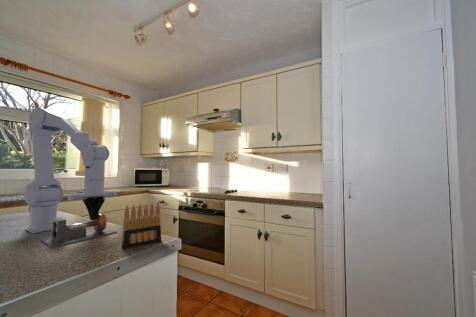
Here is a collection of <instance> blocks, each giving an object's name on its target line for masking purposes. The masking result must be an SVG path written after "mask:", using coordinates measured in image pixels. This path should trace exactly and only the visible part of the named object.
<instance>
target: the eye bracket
mask: <svg viewBox="0 0 476 317" xmlns="http://www.w3.org/2000/svg"><path fill="white" fill-rule="evenodd" d="M66 225H67V219H66V218H62V217H57V218H54V219H53V221H52V230H51V237H47V238H41V239H40V242H41V243H43V244H45V245H47V247H49V248H51V249H54V248H58V247H63V246H66V245H71V244H74V243H78V242H79V243H80V242H83V241H87V240H88V241H89V240H92V239H97V238H100V237H101V238H102V237H105V236H109V235H115V234H117V233H118V231H116V230H114V229H110V228H107V227H106V228H105V230H104V231H99V232H96V231H95V230H94V228H93V229H87V228H82V229H76V230H71V231H66ZM56 228H57V232H56Z"/></svg>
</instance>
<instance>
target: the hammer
mask: <svg viewBox="0 0 476 317" xmlns="http://www.w3.org/2000/svg"><path fill="white" fill-rule="evenodd" d="M91 227H93V229H94V230H95V231H96V232H99V231H104V230H105V228H107V217H106V215H105V214H104V213H103V212H102V213H98V216H97V220H90V221H85V222H80V223H79V222H78V223H73V224H68V225H67V224H66V231H71V230H76V229H82V228H86V229H87V228H91ZM56 232H57V228H56Z"/></svg>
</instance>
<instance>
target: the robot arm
mask: <svg viewBox="0 0 476 317" xmlns="http://www.w3.org/2000/svg"><path fill="white" fill-rule="evenodd" d="M28 117H29V118H28V119H29V130H30V132H31V139H32V153H33V168H34V169H33V170H34V179H33V180H32V181H30V182H29V183H27V184H26V185H25V193H24V197H23V198H24V202H25V203H26V204H27V205H28V207H30V210H29V215H28V227H25V228H24V229H25V230H26V231H28V232H29V233H31V234H36V233H42V232H47V231H52V221H53V219H54V218H58V215H57V214H58V205H59V204H60V202H61V201H62V200H63V198H64V189H63V188H62V183H61V181H59V180H58V179H56V178H55V176H54V162H53V149H52V148H53V147H52V136H54V135H58V134H59V133H60V132H61V131H62V132H64V133H65V134H66V135H67V136H69V137H70V143H71V144H72V145H73V146H74V147H76V149H77V150H79V152H80V156H81V159H82V161H83V162H82V164H83V166H84V184H83V185H84V187H83V189H84V190H83V192H79V193H69V194H67V201H69V202H73V201H80V200H82V203H83V204H84V205H85V207H86V210H87V212H88V213H87V214H88V216H89V220H90V221H93V220H97V216H98V214H100V210H101V208H102V206H103V204H104V202H105V200H106V198H110V197H118V191H117V190H105V171H106V170H105V166H106V162H107V160H109V156H110V151H109V149H108V147H107V145H104V144H103V145H101V144H99V142H98V141H97V140H95V139H93V137H91V136H90V135H91V134H90V133H89V132H87V131H82V130H81V131H80V130H79V129H78V128H77V127H76V126H75V124H74V122H72V121H71V117H70V116H69V115H67V113H65V112H60V111H56V110H52V109H48V108H43V107H40V106H36V107H34V108H33V109H32V110H31V112H30V113H29V116H28Z"/></svg>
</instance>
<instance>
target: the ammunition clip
mask: <svg viewBox="0 0 476 317" xmlns="http://www.w3.org/2000/svg"><path fill="white" fill-rule="evenodd" d="M137 207H138V208H137V211H136V206H135V204H133V205H132V207H131V210H130V209H129V205H126V206H125V208H124V216H123V221H122V222H123V223H122V224H123V226H122V237H121V238H122V240H121V249H122V250H128V249H134V248H137V247H144V246H148V245H152V244H158V243H161V242H162V225H161V207H160V203H159V202H157V203H156V206H154V203H152V202H151V204H150V207H148V204H147V203H145V204H144V208H143V209H142V205H141V203H140V204H139V205H138V206H137ZM130 212H131V213H130ZM136 213H137V215H136Z"/></svg>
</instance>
